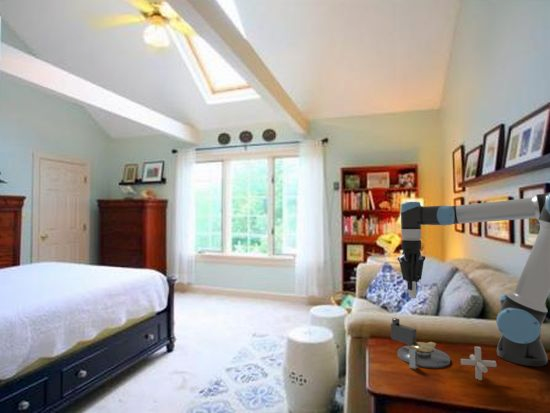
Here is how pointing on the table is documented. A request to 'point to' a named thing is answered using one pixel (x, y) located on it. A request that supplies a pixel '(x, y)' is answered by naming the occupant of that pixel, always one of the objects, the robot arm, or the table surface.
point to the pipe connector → (478, 363)
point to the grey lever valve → (409, 337)
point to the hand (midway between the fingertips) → (412, 297)
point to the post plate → (423, 358)
